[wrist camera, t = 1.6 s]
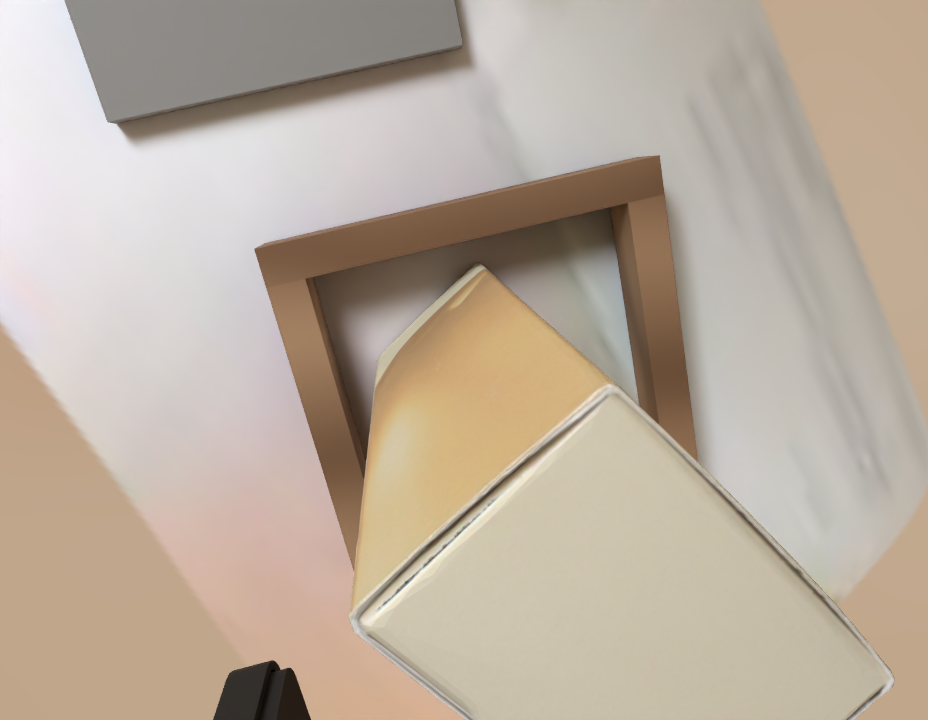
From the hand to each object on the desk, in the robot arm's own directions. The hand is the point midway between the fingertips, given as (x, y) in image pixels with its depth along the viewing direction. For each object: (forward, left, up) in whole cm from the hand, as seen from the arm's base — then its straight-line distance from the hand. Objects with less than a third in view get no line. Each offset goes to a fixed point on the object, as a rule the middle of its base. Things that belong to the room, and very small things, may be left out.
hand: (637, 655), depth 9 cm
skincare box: (-1, 0, -12) cm, 12 cm away
